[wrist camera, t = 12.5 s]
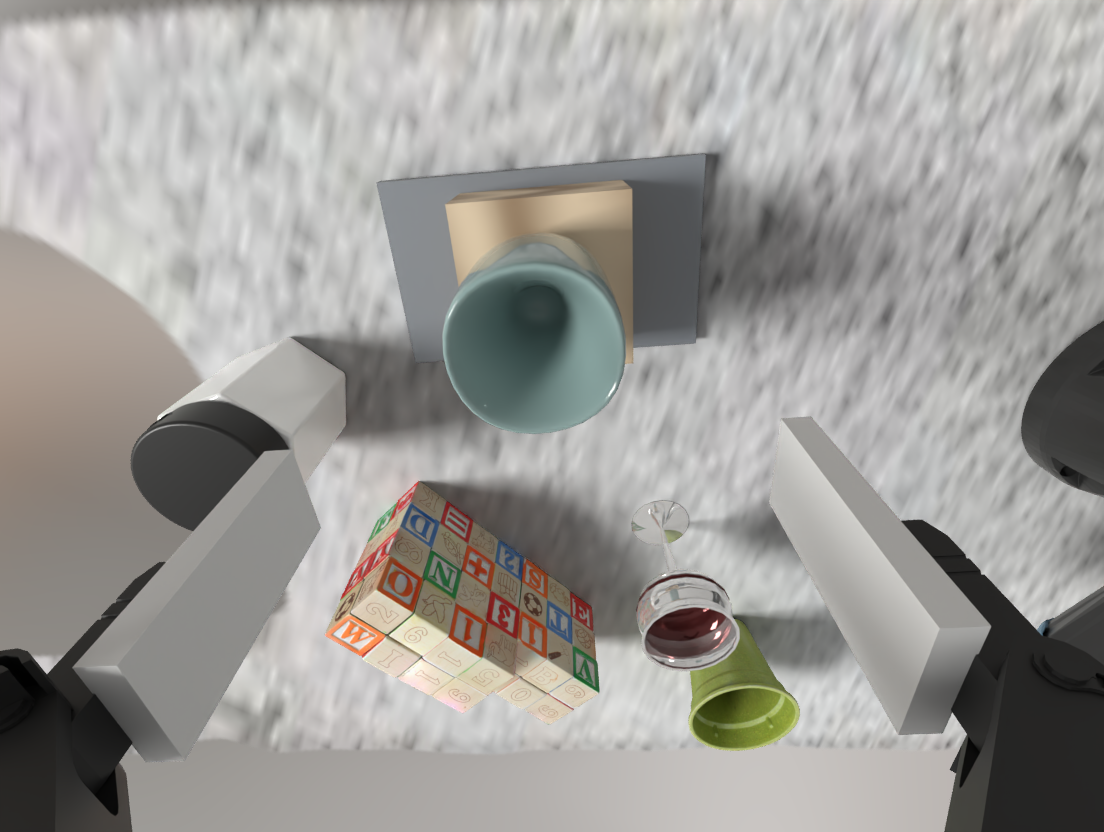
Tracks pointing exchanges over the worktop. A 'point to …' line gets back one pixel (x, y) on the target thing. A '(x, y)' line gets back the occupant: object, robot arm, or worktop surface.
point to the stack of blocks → (465, 614)
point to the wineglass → (681, 601)
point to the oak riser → (552, 228)
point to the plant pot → (740, 701)
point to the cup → (535, 335)
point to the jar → (239, 428)
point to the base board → (657, 185)
